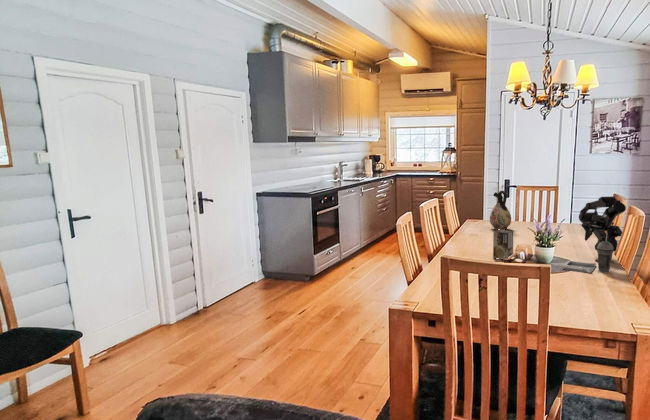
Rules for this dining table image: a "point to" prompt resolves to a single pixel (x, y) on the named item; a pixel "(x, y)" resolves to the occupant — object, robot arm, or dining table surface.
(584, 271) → the gray raised edge tray
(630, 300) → the dining table surface
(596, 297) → the dining table surface
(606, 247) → the beverage cup
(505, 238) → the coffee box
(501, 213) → the ceramic jug
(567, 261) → the flared docking tray
